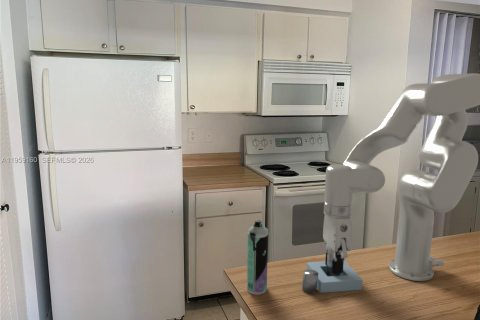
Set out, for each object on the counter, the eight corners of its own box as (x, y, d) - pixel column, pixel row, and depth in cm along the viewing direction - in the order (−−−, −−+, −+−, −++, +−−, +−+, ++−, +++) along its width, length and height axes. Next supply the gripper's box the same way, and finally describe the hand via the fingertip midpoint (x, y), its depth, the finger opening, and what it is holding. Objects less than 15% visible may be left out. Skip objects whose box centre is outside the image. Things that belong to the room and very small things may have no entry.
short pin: (315, 286, 104) (317, 269, 103) (317, 293, 100) (319, 276, 99) (301, 285, 104) (302, 268, 103) (302, 292, 100) (304, 275, 99)
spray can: (265, 295, 99) (267, 225, 95) (245, 293, 100) (246, 223, 96) (267, 285, 104) (269, 218, 100) (248, 283, 105) (249, 216, 101)
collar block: (343, 269, 114) (344, 260, 113) (361, 289, 102) (362, 279, 102) (306, 271, 112) (306, 262, 112) (320, 292, 101) (321, 282, 100)
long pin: (337, 271, 109) (339, 240, 107) (342, 278, 105) (344, 246, 104) (324, 272, 109) (326, 240, 107) (329, 279, 105) (331, 246, 103)
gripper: (364, 218, 96) (359, 282, 99) (338, 199, 112) (334, 255, 115) (336, 219, 95) (332, 284, 98) (314, 200, 111) (311, 256, 114)
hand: (333, 268), depth 107 cm, fingers closed on long pin, 4 cm apart
